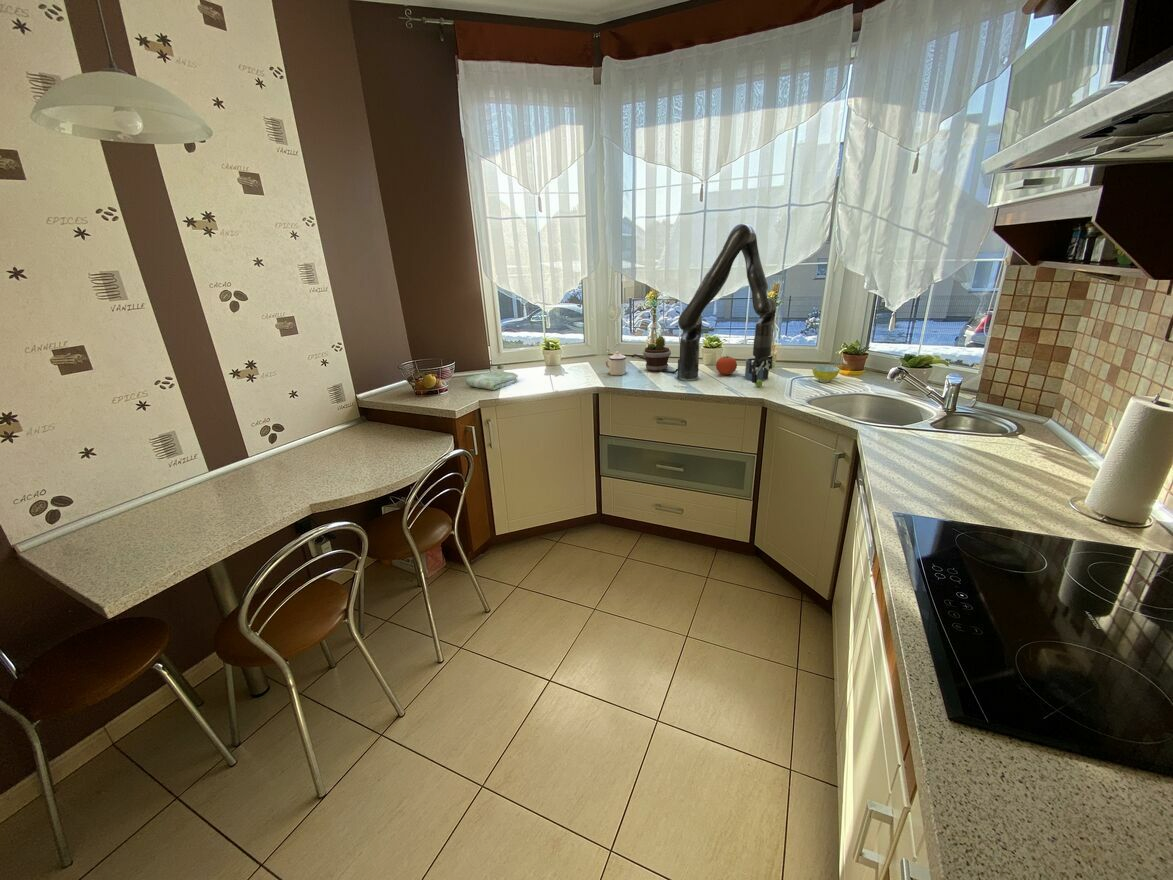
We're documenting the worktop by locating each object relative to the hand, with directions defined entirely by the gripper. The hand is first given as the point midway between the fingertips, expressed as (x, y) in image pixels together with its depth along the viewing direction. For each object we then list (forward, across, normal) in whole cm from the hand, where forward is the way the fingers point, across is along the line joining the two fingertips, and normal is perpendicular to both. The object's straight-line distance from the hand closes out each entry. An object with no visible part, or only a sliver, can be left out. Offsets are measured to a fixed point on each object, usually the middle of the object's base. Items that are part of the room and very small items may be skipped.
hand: (759, 380), depth 217 cm
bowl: (+3, -28, +16) cm, 32 cm away
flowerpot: (+2, +7, -58) cm, 59 cm away
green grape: (+3, 0, 0) cm, 3 cm away
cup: (+3, -12, -10) cm, 16 cm away
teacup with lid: (+2, +27, -69) cm, 74 cm away
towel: (+1, +85, -99) cm, 130 cm away
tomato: (+3, -9, -25) cm, 27 cm away
